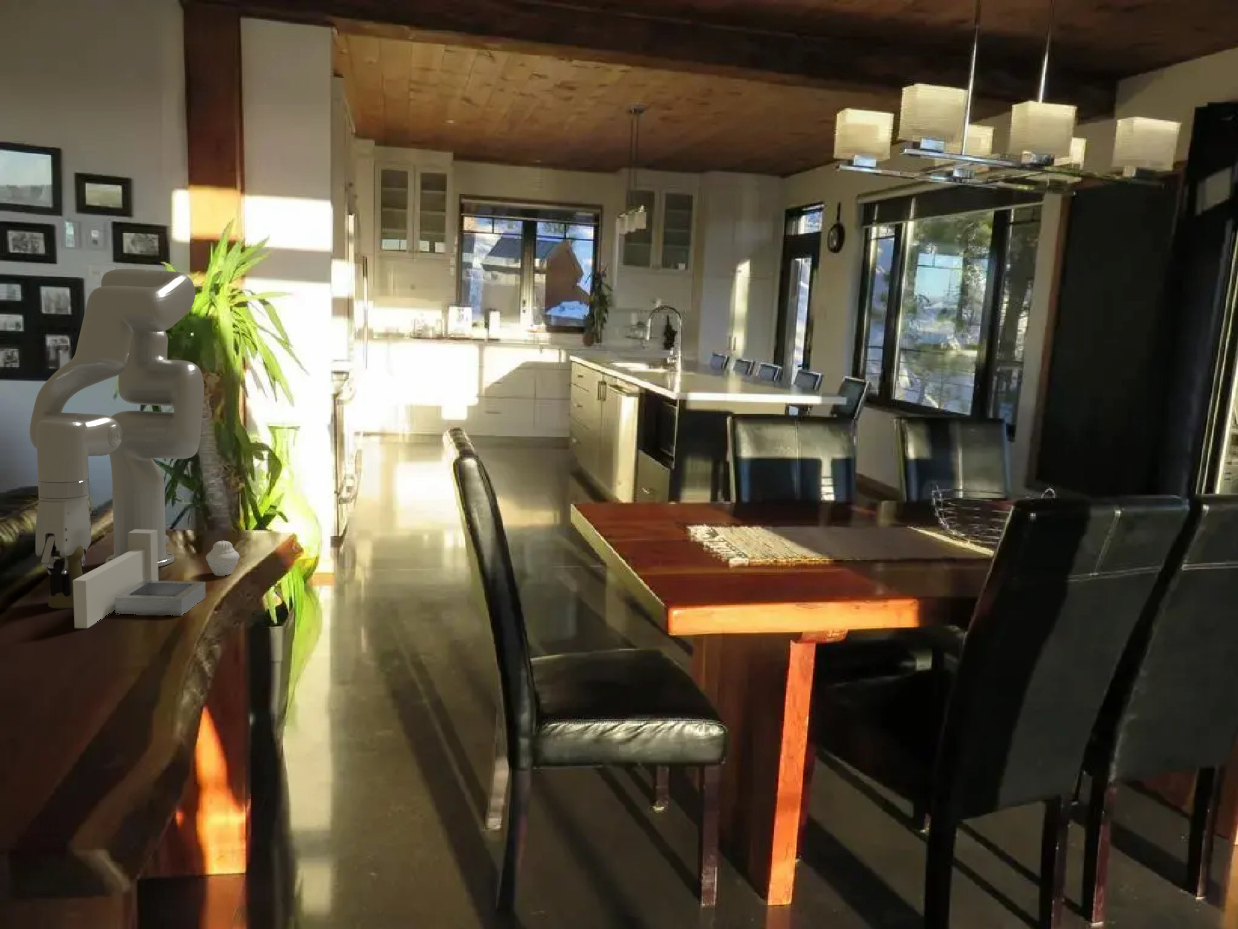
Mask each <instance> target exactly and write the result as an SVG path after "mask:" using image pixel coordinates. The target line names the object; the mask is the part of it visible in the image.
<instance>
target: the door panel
mask: <svg viewBox="0 0 1238 929" xmlns="http://www.w3.org/2000/svg"><path fill="white" fill-rule="evenodd" d="M143 580H153V581H159V567H158V541H157V530H143V529H135V530H133V531H130V532H128V552H127V553H125V554H123V555H121V556H119V557H117V558H115V559H113V560H111V561H109V562H107V563H106V562H105V563H104V564H102V565H100V566H98V567H97V568H94V569H92V570H90V571H88V572H85V573H84V575H82V576H80V577H78V578H76V579H75V580H73V597H74V607H73V616H74V619H73V621H74V629H88V628H90V627H92V626H94V625H95V624H96V623H98V622H100V621H101V620H103V619H105V618H106V617H107V616H109V615H110V614H112V613H113V611H114V610H115V597H116V596H118V595H120V594H121V593H123V592H125V591H126V590H128V589H130V588H131V587H133V586H135V585H136V584H138V583H139V582H141V581H143ZM114 612H115V611H114ZM109 613H110V614H109ZM108 614H109V615H108ZM106 615H107V616H106ZM105 616H106V617H105ZM100 619H101V620H100ZM99 620H100V621H99ZM97 621H98V622H97Z"/></svg>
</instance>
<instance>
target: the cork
mask: <svg viewBox="0 0 1238 929" xmlns="http://www.w3.org/2000/svg"><path fill="white" fill-rule="evenodd" d="M59 554H60V553H55V554H54V556H60V555H59ZM83 554H84V550H83V547H82V546H81V545H79V546H78V547H77V548H76V549H75V551H74V554H72V555H70V556H68V559H69V562H68V573H70V574H71V595H70V596H68V597H66V596H64V594H63V593H62V592H61V593H57V594H56V595H55V596H51V594H50V593H49V596H48V603H47V604H48V607H49V608H52V609H71V608H72V609H74V597H73V580H75V579H76V578H78V577H80V576H82V575H83V572H82V567H81V562H80V560H81V558H82V557H83ZM55 561H56V562H59V563H60V564H61V565H62V560H55Z"/></svg>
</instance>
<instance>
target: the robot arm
mask: <svg viewBox="0 0 1238 929" xmlns="http://www.w3.org/2000/svg"><path fill="white" fill-rule="evenodd" d="M100 285H101V286H99V287H97V288H95V289H93V290H92V291H91V292H90V294H89V296H88V298H87V302H86V305H85V306H86V308H85V310H84V315H83V319H82V324H81V328H80V333H79V336H78V340H77V344H76V350H75V354H74V356H73V357H72V359H70V360H69V361H68V362H67V363H64V365H63V366H61V367H60V368H59V369H58V370H56V371H55V372H54V373H53V374H52V375H51V376H50V377H49V378H48V379H47V381H46V382H45V383H44V384H43V385H42V386H41V388H40V389H39V391H38V393H37V395H36V399H35V402H34V406H33V410H32V414H31V419H30V424H29V425H30V426H29V437H30V439H29V440H30V442H31V444H32V446H33V447H34V448H35V449H36V458H37V459H36V460H37V461H36V462H37V463H36V464H37V465H36V466H37V484H38V485H37V487H38V492H37V493H38V500H39V501H38V502H37V510H36V520H35V555H36V556H37V557H38V558H41V562H40V563H41V565H43V566H44V567H45V568H46V569H47V574H48V575H49V595H50V594H51V596H55V595H56V594H57V593H61V592H62V593H63V594H64V596H66V597H68V596H70V595H71V574H70V573H68V562H69V559H68V556H70V555H72V554H74V551H75V549H76V548H77V547H78V546H79V545H81V546H82V547H83V550H84V554H83V557H82V558H81V560H80V562H81V567H82V572H83V575H84V574H85V565H86V554H87V550H88V548H89V547H90V545H91V542H92V526H91V525H92V523H91V513H90V505H89V498H90V479H89V478H90V476H89V473H90V472H89V457H96V456H97V457H100V456H101V457H103V456H107V455H109V461H110V467H111V470H110V471H111V485H112V486H111V487H112V489H111V490H112V493H111V495H112V520H113V522H112V523H113V526H112V527H113V530H112V531H113V554H112V555H109V556H108V557H107V558H105V563H107V562H109V561H111V560H113V559H115V558H117V557H119V556H121V555H123V554H125V553H127V552H128V532H130V531H133V530H135V529H143V530H157V541H158V568H159V567H164V566H166V565H169V564H172V563H173V562H174V561H175V555H174V553H172V552H169V551H167V549H166V548H167V547H166V546H167V544H169V542H170V537H169V535H167V534H166V507H165V506H166V498H165V497H166V494H165V492H166V491H165V487H166V486H165V478H164V474H163V472H162V470H161V468H160V467H159V466H158V464H157V463H156V461H154V459H164V460H165V459H166V460H167V459H168V460H169V459H171V460H172V459H173V460H185V459H189V458H192V457H194V456H195V455H196V454H197V452H198V451H199V447H200V443H201V437H202V425H203V410H204V400H205V399H204V397H205V396H204V395H205V394H204V393H205V382H204V377H203V373H202V370H201V369H200V367H199V366H198V365H197V364H195V363H194V362H191V361H188V360H181V359H168V347H169V346H168V345H169V338H168V334H167V332H166V331H168V330H169V329H171V328H172V327H174V326H175V325H176V324H177V323H178V322H179V321H181V320H182V319H183V318H184V317H186V315H187V314H188V313H189V312H190V311H191V309H192V308H193V306H194V302H195V300H196V288H195V285H194V282H193V281H192V279H191V277H190V276H188V274H185V273H184V272H180V271H173V270H172V271H171V270H170V271H169V270H152V269H151V270H150V269H140V268H139V269H138V268H118V269H117V268H116V269H112V270H109V271H107V272H104V274H103V275H102V278H101V280H100ZM117 376H118V378H117V379H118V381H117V382H118V383H117V385H118V387H117V388H118V393H119V396H120V398H121V399H122V400H123V401H125V402H127V403H129V404H134V405H141V406H161V407H173V412H169V411H168V412H167V411H156V410H155V411H154V410H153V411H152V410H151V411H150V410H126V411H120V412H116V413H114V414H113V415H112V416H109V415H106V414H101V413H100V414H97V413H96V414H95V413H79V412H63V409H64V407H65V405H66V404H67V403H68V402H69V400H70V399H71V398H72V397H73V396H74V395H77V393H78V392H80V391H82V390H83V389H86V388H88V387H90V386H93V385H96V384H99V383H101V382H104V381H106V380H109V379H112V378H115V377H117ZM55 553H60V554H59V555H60V556H54V554H55ZM55 560H62V565H61V564H60V563H59V562H56V561H55Z"/></svg>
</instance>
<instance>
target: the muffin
mask: <svg viewBox="0 0 1238 929" xmlns="http://www.w3.org/2000/svg"><path fill="white" fill-rule="evenodd" d="M210 550H211V551H209V552H208V553H207V554H206V556H205V559H206V561H207V565H208V567H209V568H210V570H211V571H212V574H214V576H216V577H226V576H225V575H227V576H230V575H229V574H231V573H232V574H233V572H234V571H235V568H236V566H237V564H238V563H239V560H240V554H239V552H238V551H236V550H235V548H234V547H233V544H232V543H231V542H230V541H228V540H227V541H226V540H220V541H216V542H215V543H214V544H213V546H212V549H210ZM232 574H231V575H232Z"/></svg>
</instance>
